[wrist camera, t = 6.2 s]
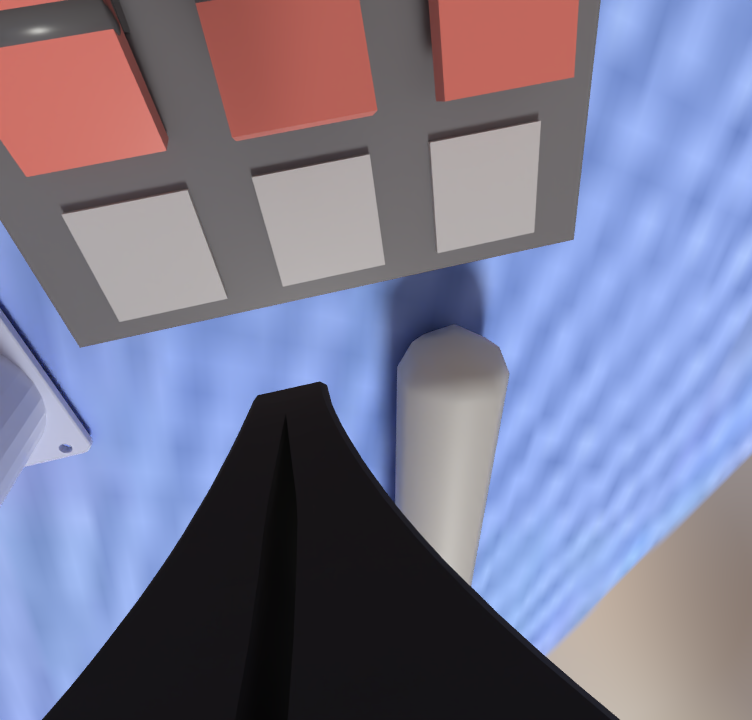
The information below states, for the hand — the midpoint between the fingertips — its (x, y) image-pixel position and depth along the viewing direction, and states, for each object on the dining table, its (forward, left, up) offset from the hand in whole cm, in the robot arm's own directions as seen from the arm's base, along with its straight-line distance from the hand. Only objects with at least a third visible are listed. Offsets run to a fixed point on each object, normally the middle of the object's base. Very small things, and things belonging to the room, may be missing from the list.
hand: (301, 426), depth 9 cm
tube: (+4, -17, -11) cm, 21 cm away
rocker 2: (+2, +7, -7) cm, 10 cm away
